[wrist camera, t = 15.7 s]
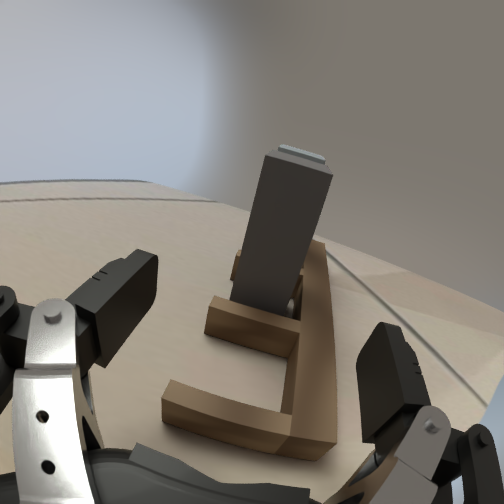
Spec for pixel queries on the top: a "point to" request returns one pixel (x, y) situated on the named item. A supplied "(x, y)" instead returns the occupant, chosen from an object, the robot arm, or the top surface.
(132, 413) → the top surface
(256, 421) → the cable comb
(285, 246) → the grey tall rectangular block
